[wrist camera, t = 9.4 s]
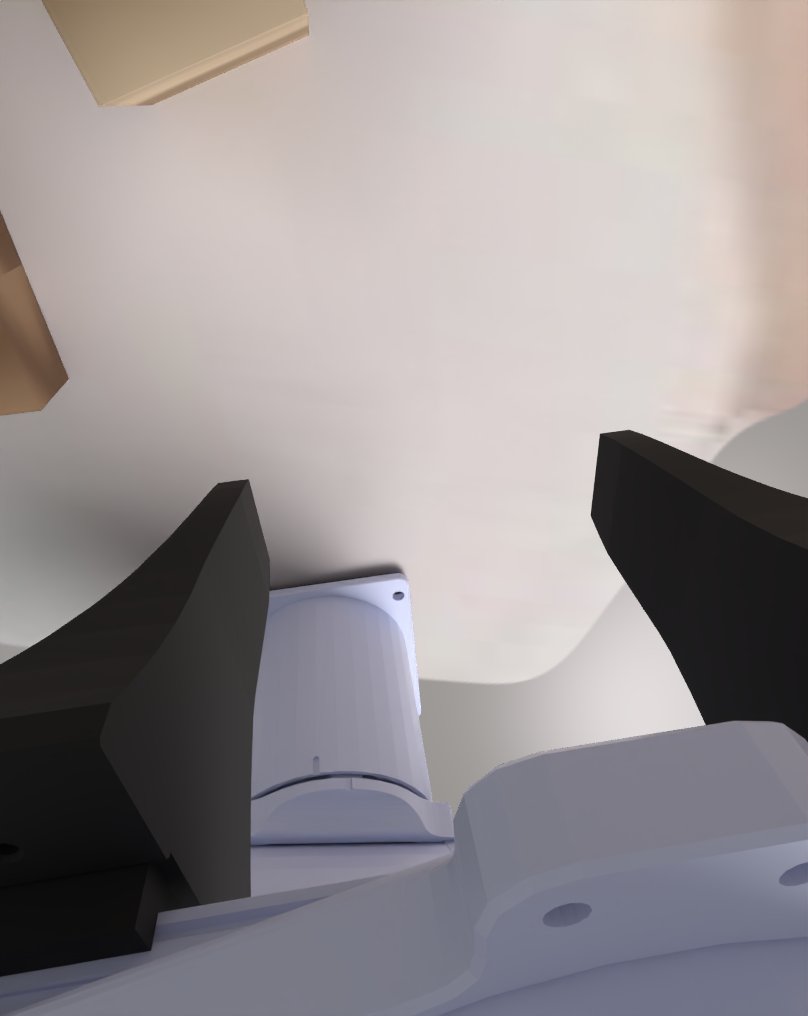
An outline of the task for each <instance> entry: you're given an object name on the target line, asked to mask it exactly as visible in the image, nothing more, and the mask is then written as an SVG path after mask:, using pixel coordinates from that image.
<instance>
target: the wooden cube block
mask: <svg viewBox="0 0 808 1016" xmlns="http://www.w3.org/2000/svg"><path fill="white" fill-rule="evenodd" d="M42 2H43V4H44V6H45V8H46V10H47V12H48V13H49V15H50V17H51V19H52V21H53V23H54V25H55V26H56V28H57V30H58V32H59V34H60V36H61V37H62V39H63V41H64V43H65V45H66V47H67V49H68V50H69V52H70V54H71V56H72V58H73V60H74V62H75V63H76V65H77V67H78V69H79V71H80V73H81V75H82V76H83V78H84V80H85V82H86V84H87V86H88V87H89V89H90V91H91V93H92V95H93V97H94V99H95V100H96V102H97V104H98V106H134V105H153V104H155V103H157V102H160V101H162V100H164V99H166V98H168V97H171V96H173V95H175V94H177V93H180V92H182V91H184V90H186V89H189V88H191V87H193V86H195V85H198V84H200V83H202V82H204V81H207V80H209V79H211V78H213V77H216V76H218V75H220V74H222V73H225V72H227V71H229V70H231V69H234V68H236V67H238V66H240V65H243V64H245V63H247V62H249V61H252V60H254V59H256V58H258V57H261V56H263V55H265V54H267V53H270V52H272V51H274V50H276V49H279V48H281V47H283V46H285V45H288V44H290V43H292V42H294V41H297V40H299V39H301V38H303V37H305V36H308V35H309V24H308V11H307V8H306V6H305V3H304V0H42Z"/></svg>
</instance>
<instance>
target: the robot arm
mask: <svg viewBox="0 0 808 1016" xmlns="http://www.w3.org/2000/svg"><path fill="white" fill-rule="evenodd" d="M591 517H592V520H593V522H594V524H595V527H596V529H597V531H598V534H599V536H600V538H601V540H602V542H603V545H604V547H605V549H606V551H607V553H608V555H609V556H610V558H611V560H612V561H613V563H614V564H615V566H616V567H617V569H618V571H619V572H620V574H621V575H622V577H623V578H624V580H625V581H626V583H627V585H628V586H629V588H630V589H631V590H632V592H633V594H634V595H635V597H636V598H637V599H638V601H639V603H640V604H641V606H642V607H643V609H644V610H645V612H646V613H647V615H648V616H649V618H650V619H651V621H652V622H653V624H654V626H655V627H656V629H657V630H658V632H659V633H660V635H661V637H662V638H663V640H664V642H665V643H666V645H667V647H668V648H669V650H670V652H671V654H672V656H673V658H674V660H675V662H676V664H677V666H678V668H679V670H680V672H681V674H682V676H683V678H684V680H685V682H686V684H687V686H688V688H689V690H690V692H691V694H692V696H693V698H694V700H695V703H696V705H697V707H698V709H699V711H700V713H701V715H702V717H703V720H704V722H705V724H706V725H704V726H698V727H692V728H686V729H679V730H673V731H667V732H661V733H654V734H649V735H642V736H636V737H629V738H623V739H617V740H611V741H605V742H598V743H592V744H586V745H579V746H573V747H567V748H561V749H554V750H548V751H542V752H538V753H535V754H531V755H528V756H525V757H522V758H519V759H516V760H513V761H510V762H507V763H503V764H501V765H498V766H497V767H496V768H494V769H493V770H492V771H490V772H489V773H488V774H487V775H485V776H484V777H482V778H481V779H480V780H478V781H477V782H476V783H474V784H473V785H472V786H470V787H469V788H468V790H467V791H466V792H465V793H464V795H463V798H462V800H461V802H460V805H459V807H458V810H457V812H456V815H455V818H454V820H453V818H452V813H451V807H450V804H449V803H442V802H434V801H433V799H432V794H431V788H430V782H429V776H428V770H427V764H426V758H425V752H424V746H423V741H422V736H421V730H420V723H419V718H418V716H419V715H420V714H421V704H420V695H419V684H418V673H417V663H416V653H415V643H414V632H413V622H412V612H411V601H410V591H409V583H408V579H407V577H406V576H405V575H403V574H401V573H394V574H387V575H380V576H372V577H365V578H358V579H351V580H344V581H337V582H330V583H323V584H315V585H308V586H301V587H294V588H287V589H280V590H273V591H269V585H270V566H269V556H268V552H267V548H266V544H265V540H264V536H263V533H262V529H261V525H260V521H259V517H258V513H257V509H256V506H255V502H254V498H253V494H252V490H251V486H250V482H249V479H247V480H239V481H231V482H223V483H218V484H217V485H216V486H215V487H214V488H213V489H212V490H211V491H210V492H209V493H208V494H207V496H206V497H205V498H204V499H203V500H202V501H201V503H200V504H199V505H198V506H197V507H196V508H195V509H194V511H193V512H192V513H191V514H190V515H189V516H188V517H187V518H186V520H185V521H184V522H183V523H182V524H181V525H180V526H179V527H178V528H177V529H176V531H175V532H174V533H173V534H172V535H171V536H170V537H169V538H168V539H167V540H166V541H165V542H164V543H163V544H162V545H161V546H160V547H159V548H158V549H157V550H156V551H155V552H154V553H153V554H152V555H151V556H150V557H149V558H148V559H147V560H146V561H145V562H144V563H143V564H142V565H141V566H140V567H139V568H138V569H136V570H135V571H134V572H133V573H132V574H131V575H130V576H129V577H127V578H126V579H125V580H124V581H123V582H122V583H121V584H119V585H118V586H117V587H116V588H114V589H113V590H112V591H111V592H109V593H108V594H107V595H106V596H104V597H103V598H102V599H101V600H99V601H98V602H97V603H95V604H94V605H93V606H91V607H90V608H89V609H87V610H86V611H84V612H83V613H81V614H80V615H78V616H77V617H75V618H74V619H73V620H71V621H70V622H68V623H67V624H65V625H64V626H62V627H61V628H59V629H58V630H57V631H55V632H54V633H52V634H51V635H49V636H48V637H46V638H44V639H43V640H41V641H40V642H38V643H36V644H35V645H33V646H31V647H30V648H28V649H27V650H25V651H23V652H21V653H20V654H18V655H16V656H14V657H13V658H11V659H9V660H7V661H6V662H4V663H2V664H0V1016H808V498H805V497H801V496H798V495H794V494H791V493H788V492H785V491H782V490H779V489H776V488H773V487H770V486H767V485H764V484H762V483H759V482H756V481H753V480H751V479H748V478H745V477H743V476H740V475H738V474H735V473H732V472H730V471H728V470H725V469H723V468H720V467H718V466H716V465H713V464H711V463H709V462H706V461H704V460H702V459H699V458H697V457H695V456H692V455H690V454H688V453H685V452H683V451H681V450H679V449H676V448H674V447H672V446H669V445H667V444H665V443H663V442H660V441H658V440H655V439H653V438H651V437H648V436H645V435H643V434H640V433H637V432H634V431H631V430H625V431H617V432H610V433H602V434H600V439H599V447H598V456H597V465H596V474H595V482H594V491H593V500H592V508H591ZM398 591H399V592H402V593H401V594H398V595H397V594H394V593H395V592H398Z"/></svg>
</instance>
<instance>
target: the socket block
mask: <svg viewBox="0 0 808 1016" xmlns="http://www.w3.org/2000/svg"><path fill="white" fill-rule="evenodd" d="M68 379H69V378H68V376H67V373H66V371H65V368H64V366H63V364H62V361H61V359H60V356H59V354H58V351H57V349H56V346H55V344H54V342H53V339H52V337H51V334H50V332H49V329H48V327H47V324H46V322H45V320H44V317H43V315H42V312H41V310H40V307H39V305H38V302H37V300H36V297H35V295H34V293H33V290H32V288H31V285H30V283H29V280H28V278H27V275H26V273H25V271H24V268H23V266H22V263H21V261H20V258H19V256H18V253H17V251H16V249H15V246H14V244H13V241H12V239H11V236H10V234H9V231H8V229H7V226H6V224H5V222H4V219H3V217H2V214H1V212H0V415H8V414H17V413H25V412H33V411H41V410H42V409H43V408H44V406H45V405H46V404H47V403H48V402H49V401H50V400H51V398H52V397H53V396H54V395H55V394H56V393H57V392H58V390H59V389H60V388H61V387H62V386H63V385H64V384H65V383H66V381H67V380H68Z"/></svg>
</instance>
